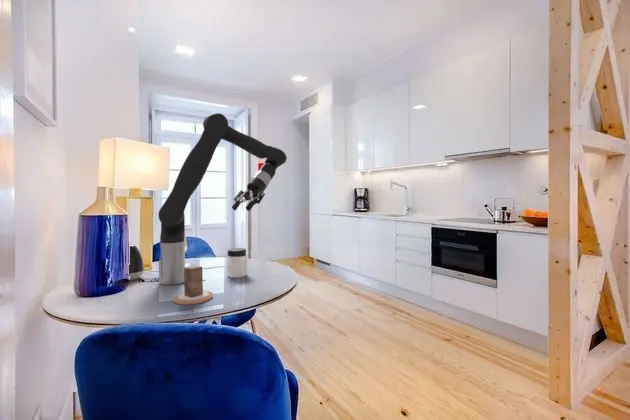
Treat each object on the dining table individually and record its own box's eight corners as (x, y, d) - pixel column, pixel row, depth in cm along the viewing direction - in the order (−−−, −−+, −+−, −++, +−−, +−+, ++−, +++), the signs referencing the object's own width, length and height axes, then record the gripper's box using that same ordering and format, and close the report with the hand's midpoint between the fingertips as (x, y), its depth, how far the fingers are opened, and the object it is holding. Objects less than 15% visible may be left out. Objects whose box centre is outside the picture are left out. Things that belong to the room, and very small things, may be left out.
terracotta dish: (165, 303, 108) (165, 300, 108) (187, 292, 121) (187, 288, 121) (200, 305, 106) (200, 302, 106) (219, 293, 118) (219, 290, 118)
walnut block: (184, 295, 113) (183, 267, 112) (195, 292, 116) (194, 265, 116) (191, 297, 110) (191, 269, 110) (202, 294, 114) (202, 266, 113)
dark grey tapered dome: (112, 279, 139) (111, 245, 138) (137, 274, 147) (136, 242, 147) (124, 283, 133) (122, 247, 132) (148, 278, 142) (147, 244, 141)
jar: (225, 274, 146) (224, 249, 146) (241, 272, 151) (241, 247, 151) (232, 279, 139) (231, 251, 139) (249, 276, 144) (249, 249, 143)
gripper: (243, 177, 145) (224, 203, 137) (266, 176, 137) (247, 203, 128) (252, 189, 150) (233, 214, 141) (275, 188, 142) (256, 215, 133)
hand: (240, 209), depth 135 cm, fingers open, 8 cm apart
